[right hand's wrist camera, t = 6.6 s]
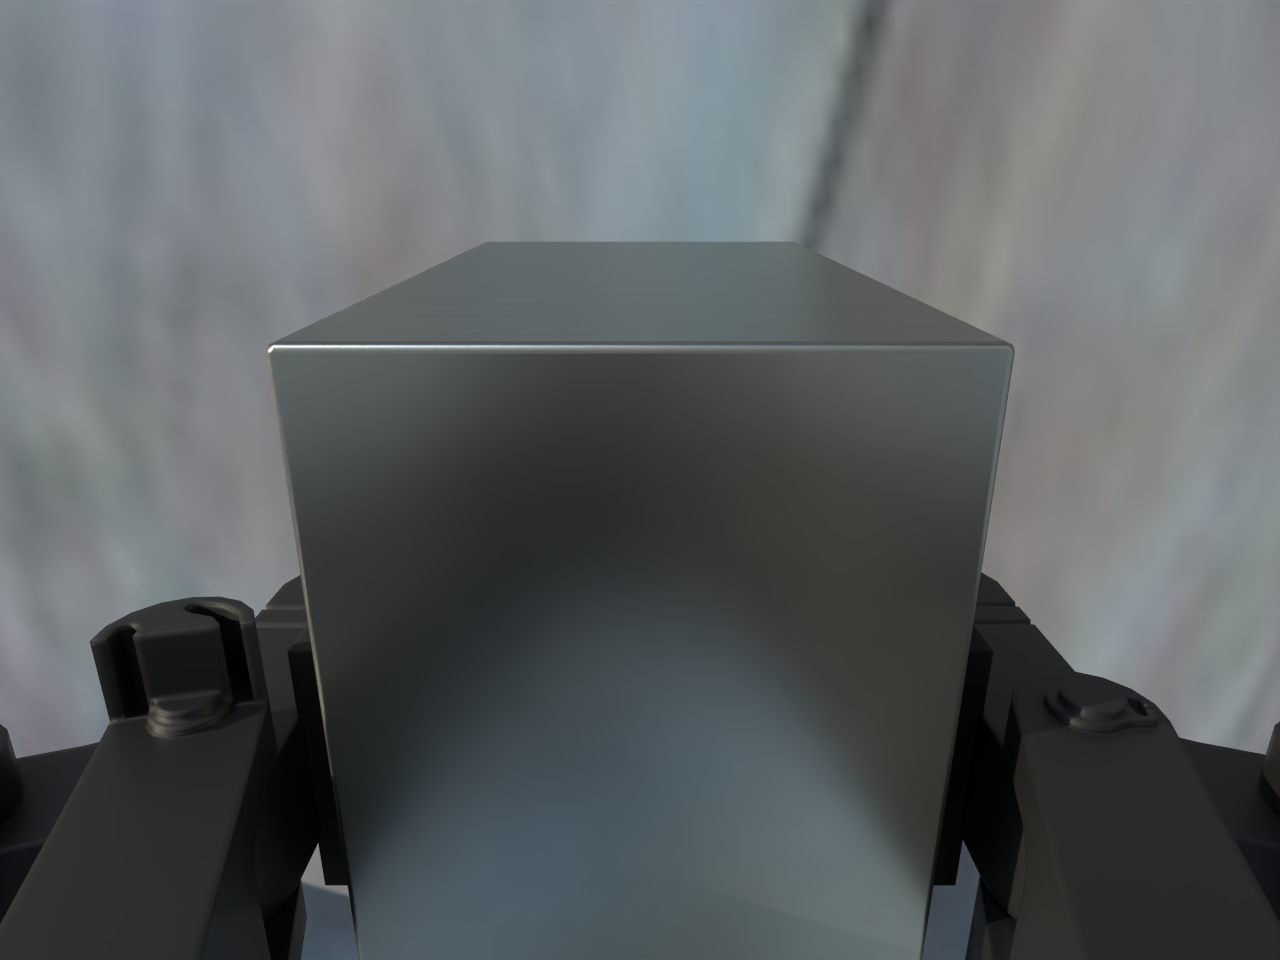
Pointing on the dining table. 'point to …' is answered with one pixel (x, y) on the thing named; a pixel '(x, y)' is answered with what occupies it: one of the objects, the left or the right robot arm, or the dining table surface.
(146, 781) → the right robot arm
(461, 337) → the bar
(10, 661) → the dining table surface
